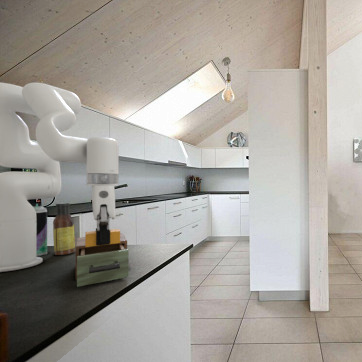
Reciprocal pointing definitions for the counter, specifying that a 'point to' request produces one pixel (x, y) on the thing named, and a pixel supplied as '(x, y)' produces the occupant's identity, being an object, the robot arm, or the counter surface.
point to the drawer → (102, 264)
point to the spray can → (41, 229)
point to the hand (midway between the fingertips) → (102, 242)
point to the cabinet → (81, 244)
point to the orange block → (91, 237)
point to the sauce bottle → (63, 230)
